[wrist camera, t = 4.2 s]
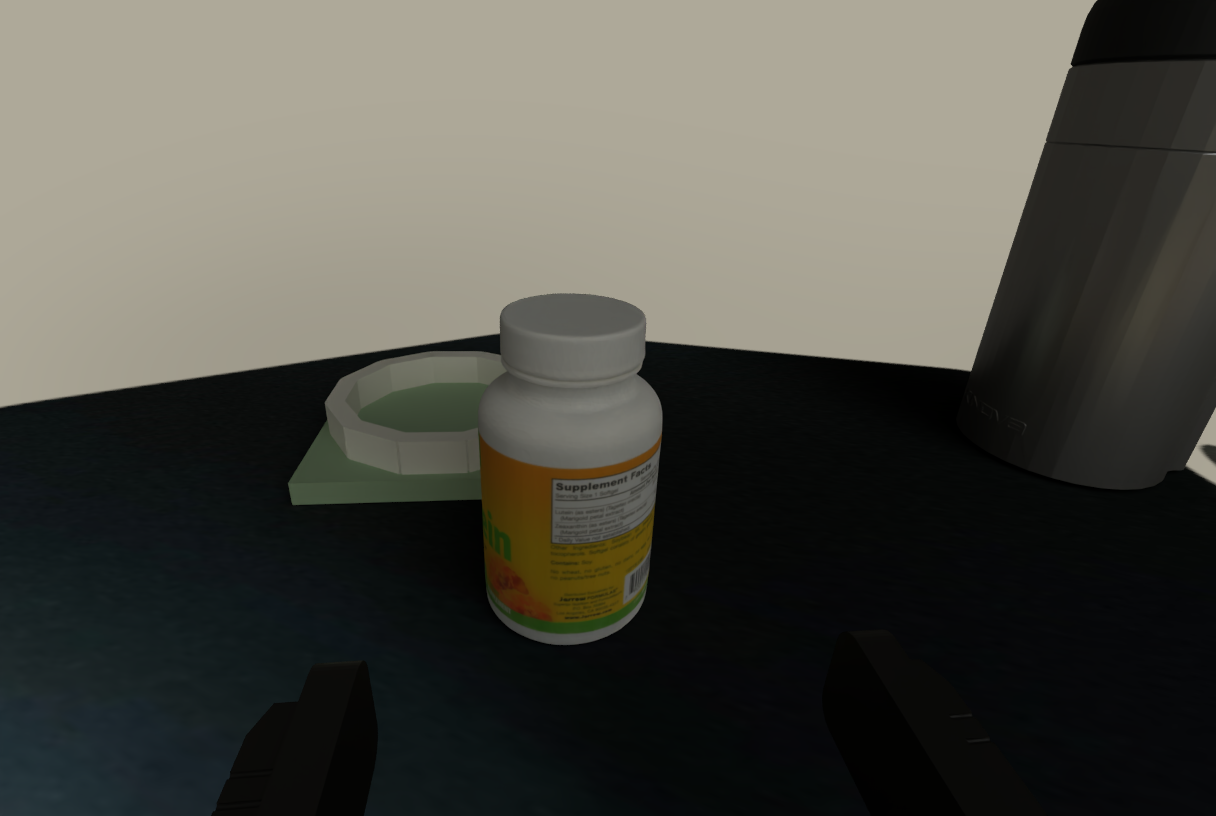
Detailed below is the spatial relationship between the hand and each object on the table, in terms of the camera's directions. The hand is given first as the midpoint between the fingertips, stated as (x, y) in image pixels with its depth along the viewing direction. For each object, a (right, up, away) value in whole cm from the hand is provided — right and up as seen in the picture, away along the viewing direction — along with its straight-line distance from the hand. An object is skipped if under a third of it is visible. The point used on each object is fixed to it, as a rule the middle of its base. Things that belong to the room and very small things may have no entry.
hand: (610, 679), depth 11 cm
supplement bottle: (-1, -2, +11) cm, 11 cm away
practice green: (-8, +3, +20) cm, 21 cm away
